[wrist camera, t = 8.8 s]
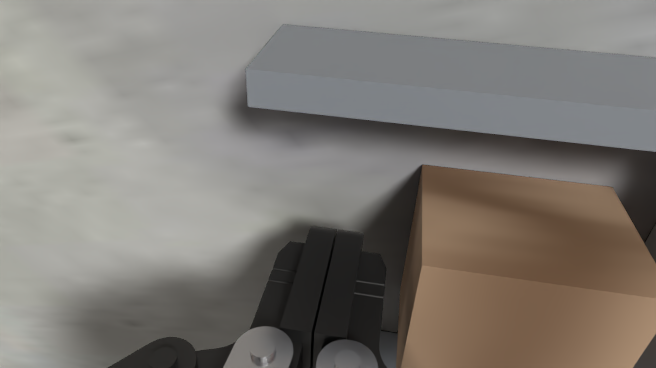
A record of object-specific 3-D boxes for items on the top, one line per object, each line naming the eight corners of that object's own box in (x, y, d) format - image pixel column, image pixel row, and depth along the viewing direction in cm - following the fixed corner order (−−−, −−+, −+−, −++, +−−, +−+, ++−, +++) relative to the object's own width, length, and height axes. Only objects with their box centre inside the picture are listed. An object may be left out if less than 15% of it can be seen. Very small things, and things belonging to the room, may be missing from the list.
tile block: (400, 289, 16) (393, 399, 13) (422, 164, 13) (422, 265, 10) (554, 311, 15) (588, 433, 12) (611, 187, 13) (677, 301, 9)
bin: (287, 329, 18) (266, 402, 16) (283, 24, 12) (245, 68, 9) (593, 379, 17) (621, 467, 15) (784, 69, 10) (895, 134, 8)
